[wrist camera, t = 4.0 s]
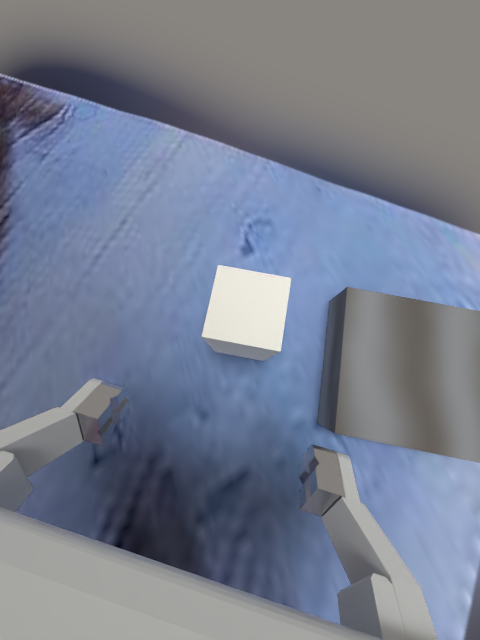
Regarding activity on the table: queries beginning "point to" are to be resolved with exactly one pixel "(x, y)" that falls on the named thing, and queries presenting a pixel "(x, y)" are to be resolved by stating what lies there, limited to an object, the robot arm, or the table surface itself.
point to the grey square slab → (402, 373)
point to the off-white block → (246, 313)
